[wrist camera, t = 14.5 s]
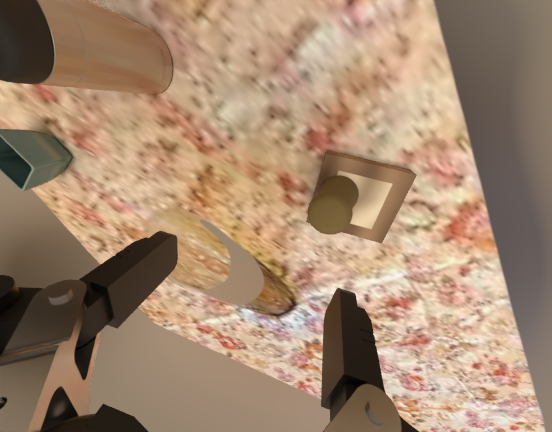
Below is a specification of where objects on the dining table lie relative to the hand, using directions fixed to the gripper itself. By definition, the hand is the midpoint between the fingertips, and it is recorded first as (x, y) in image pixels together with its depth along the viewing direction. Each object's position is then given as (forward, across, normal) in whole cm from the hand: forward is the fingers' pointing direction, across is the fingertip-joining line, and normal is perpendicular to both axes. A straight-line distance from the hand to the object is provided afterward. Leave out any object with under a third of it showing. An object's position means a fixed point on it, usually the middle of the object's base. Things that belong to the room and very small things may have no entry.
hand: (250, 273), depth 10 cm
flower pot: (+31, +54, +14) cm, 64 cm away
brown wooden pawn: (+26, -6, +4) cm, 27 cm away
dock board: (+29, -10, +4) cm, 31 cm away
